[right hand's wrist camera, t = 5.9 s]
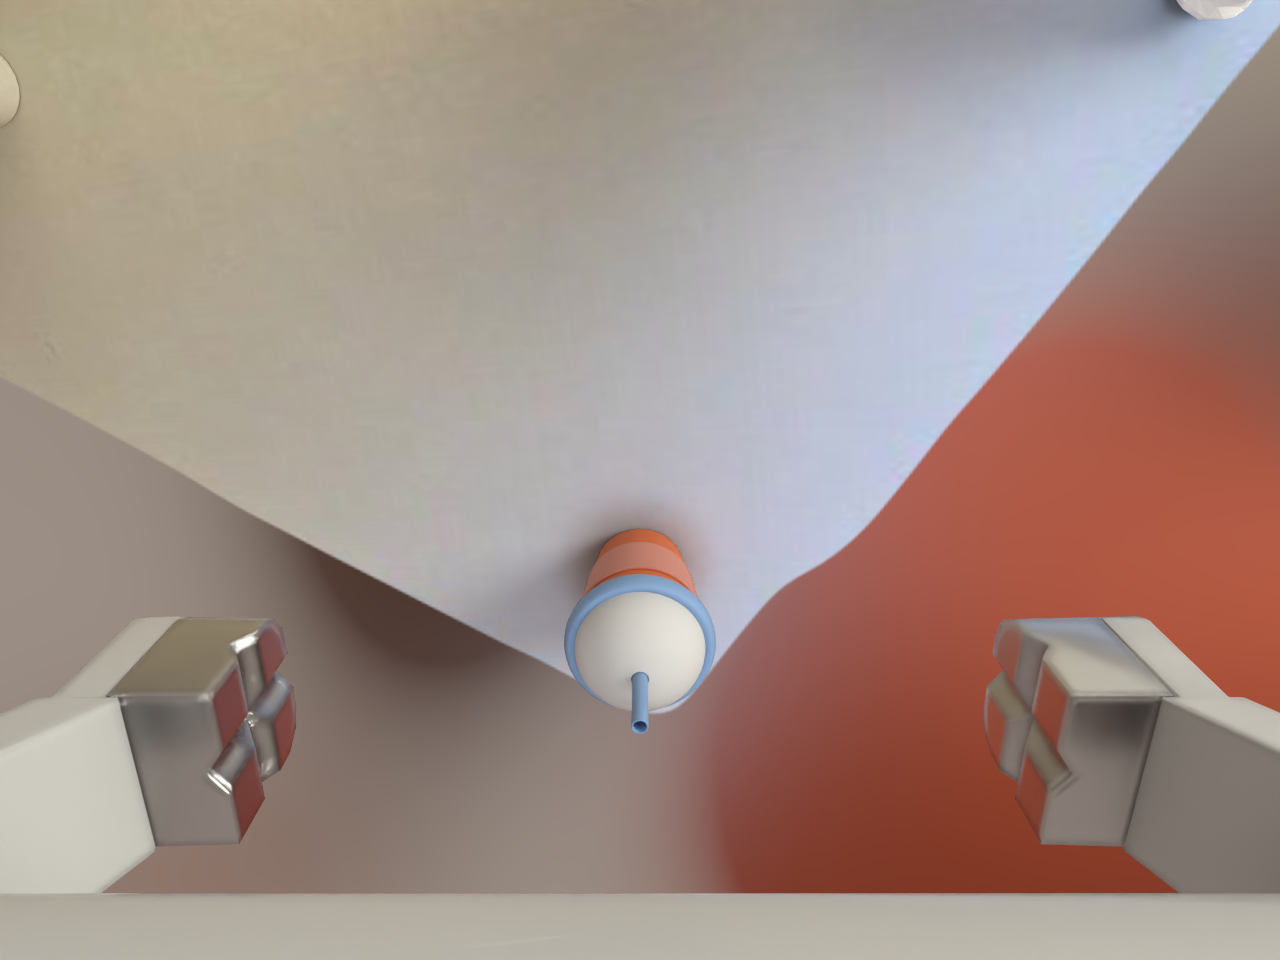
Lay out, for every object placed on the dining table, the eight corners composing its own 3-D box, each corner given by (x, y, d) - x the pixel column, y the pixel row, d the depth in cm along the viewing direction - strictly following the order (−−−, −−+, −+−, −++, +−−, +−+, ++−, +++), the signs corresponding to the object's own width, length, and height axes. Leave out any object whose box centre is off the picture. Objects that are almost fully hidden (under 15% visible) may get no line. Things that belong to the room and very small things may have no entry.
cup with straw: (564, 610, 65) (537, 780, 48) (589, 496, 61) (570, 636, 45) (687, 634, 65) (703, 810, 49) (718, 522, 62) (747, 670, 45)
